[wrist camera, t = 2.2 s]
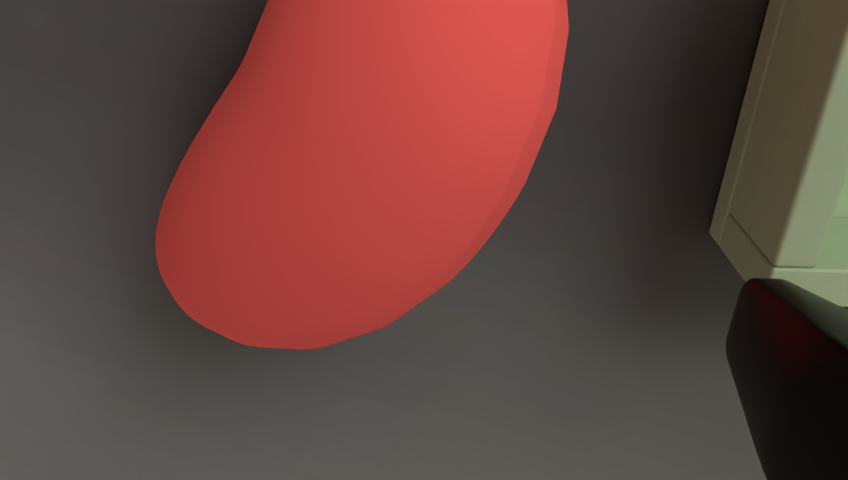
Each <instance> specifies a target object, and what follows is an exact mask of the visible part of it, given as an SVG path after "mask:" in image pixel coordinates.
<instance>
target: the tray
mask: <svg viewBox="0 0 848 480" xmlns="http://www.w3.org/2000/svg"><path fill="white" fill-rule="evenodd" d="M709 233H710V235H711V236H712V237H713V239H714V240H715V242H716V243H717V244H718V245H720V248H721V250H722V251H723V252H724V254H725V255H726V256H727V258H728V259H729V261H730V262H731V263H732V265H733V266H734V267H735V269H736V270H737V271H738V273H739V274H740V275H741V277H742V278H743V279H744V281H745V282H746V281H748V280H749V279H752V278H774V279H784V280H787V281H789V282H791V283H793V284H795V285H797V286H799V287H801V288H804V289H806V290H808V291H810V292H812V293H814V294H816V295H818V296H820V297H822V298H824V299H826V300H828V301H830V302H832V303H834V304H836V305H838V306H840V307H848V0H770V1H769V5H768V9H767V12H766V16H765V20H764V24H763V28H762V31H761V35H760V39H759V43H758V47H757V51H756V54H755V58H754V62H753V66H752V70H751V74H750V77H749V81H748V85H747V89H746V93H745V97H744V100H743V104H742V108H741V112H740V116H739V120H738V123H737V127H736V131H735V135H734V139H733V142H732V146H731V150H730V154H729V158H728V162H727V165H726V169H725V173H724V177H723V181H722V185H721V188H720V192H719V196H718V200H717V204H716V208H715V211H714V215H713V219H712V223H711V227H710V230H709Z"/></svg>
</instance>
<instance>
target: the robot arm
mask: <svg viewBox="0 0 848 480" xmlns="http://www.w3.org/2000/svg"><path fill="white" fill-rule="evenodd" d="M726 354H727V359H728V362H729V366H730V369H731V372H732V375H733V378H734V381H735V385H736V388H737V391H738V394H739V397H740V401H741V404H742V407H743V410H744V413H745V416H746V420H747V423H748V426H749V429H750V432H751V435H752V439H753V442H754V445H755V448H756V451H757V454H758V457H759V460H760V463H761V465H762V468H763V471H764V473H765V476H766V478H767V480H848V310H847V309H845V308H842V307H840V306H838V305H836V304H834V303H832V302H830V301H828V300H826V299H824V298H822V297H820V296H818V295H816V294H814V293H812V292H810V291H808V290H806V289H804V288H801V287H799V286H797V285H795V284H793V283H791V282H789V281H787V280H784V279H774V278H752V279H749V280H748V281H746V282H745V283H744V285H743V286H742V288H741V291H740V294H739V297H738V300H737V304H736V307H735V311H734V314H733V317H732V321H731V324H730V328H729V331H728V335H727V339H726Z"/></svg>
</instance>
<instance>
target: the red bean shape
mask: <svg viewBox="0 0 848 480" xmlns="http://www.w3.org/2000/svg"><path fill="white" fill-rule="evenodd" d="M568 33H569V21H568V8H567V0H268V2H267V4H266V6H265V9H264V11H263V14H262V16H261V19H260V21H259V23H258V26H257V28H256V31H255V33H254V35H253V38H252V40H251V43H250V45H249V48H248V50H247V52H246V54H245V57H244V59H243V61H242V63H241V65H240V67H239V68H238V70H237V72H236V73H235V75H234V77H233V78H232V80H231V81H230V83H229V84H228V86H227V87H226V89H225V91H224V92H223V94H222V95H221V97H220V98H219V100H218V101H217V103H216V104H215V106H214V107H213V109H212V111H211V112H210V114H209V116H208V117H207V119H206V121H205V122H204V124H203V125H202V127H201V129H200V130H199V132H198V134H197V135H196V137H195V139H194V140H193V142H192V144H191V145H190V147H189V149H188V151H187V153H186V154H185V156H184V158H183V160H182V162H181V164H180V166H179V168H178V170H177V172H176V174H175V176H174V178H173V180H172V183H171V185H170V187H169V189H168V191H167V193H166V196H165V199H164V202H163V204H162V207H161V210H160V215H159V220H158V224H157V229H156V238H155V251H156V259H157V264H158V268H159V271H160V274H161V276H162V279H163V281H164V282H165V284H166V286H167V288H168V290H169V291H170V293H171V295H172V296H173V298H174V299H175V301H176V302H177V304H178V305H179V306H180V307H181V309H182V310H183V311H184V312H185V313H186V314H187V315H188V316H189V317H191V318H192V319H193V320H195V321H196V322H198V323H199V324H201V325H203V326H205V327H206V328H208V329H210V330H212V331H214V332H216V333H218V334H220V335H222V336H224V337H226V338H228V339H230V340H233V341H236V342H238V343H241V344H243V345H247V346H254V347H262V348H283V349H316V348H322V347H326V346H329V345H332V344H335V343H338V342H341V341H344V340H348V339H351V338H354V337H357V336H360V335H363V334H366V333H369V332H373V331H375V330H378V329H381V328H384V327H386V326H389V325H390V324H391V323H393V322H394V321H396V320H397V319H398V318H400V317H401V316H403V315H404V314H405V313H407V312H408V311H410V310H411V309H412V308H414V307H415V306H417V305H418V304H419V303H421V302H422V301H424V300H425V299H426V298H428V297H429V296H431V295H432V294H433V293H435V292H436V291H438V290H439V289H440V288H442V287H443V286H444V285H446V284H447V283H448V282H450V281H451V280H452V279H453V278H454V277H455V276H456V275H457V274H458V273H459V272H460V271H461V270H462V269H463V268H464V267H465V266H466V265H467V264H468V263H469V262H470V260H471V259H472V258H473V257H474V256H475V255H476V254H477V252H478V251H479V250H480V249H481V248H482V246H483V245H484V244H485V243H486V241H487V240H488V239H489V238H490V236H491V235H492V234H493V232H494V231H495V230H496V228H497V227H498V226H499V224H500V223H501V221H502V220H503V218H504V217H505V215H506V214H507V213H508V211H509V209H510V208H511V206H512V205H513V203H514V202H515V200H516V198H517V197H518V195H519V193H520V192H521V190H522V188H523V187H524V185H525V183H526V180H527V178H528V176H529V173H530V171H531V169H532V166H533V164H534V161H535V159H536V156H537V154H538V152H539V149H540V147H541V144H542V142H543V140H544V137H545V135H546V132H547V130H548V128H549V125H550V123H551V120H552V118H553V116H554V113H555V111H556V108H557V102H558V96H559V90H560V83H561V77H562V71H563V64H564V58H565V52H566V45H567V39H568Z"/></svg>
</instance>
